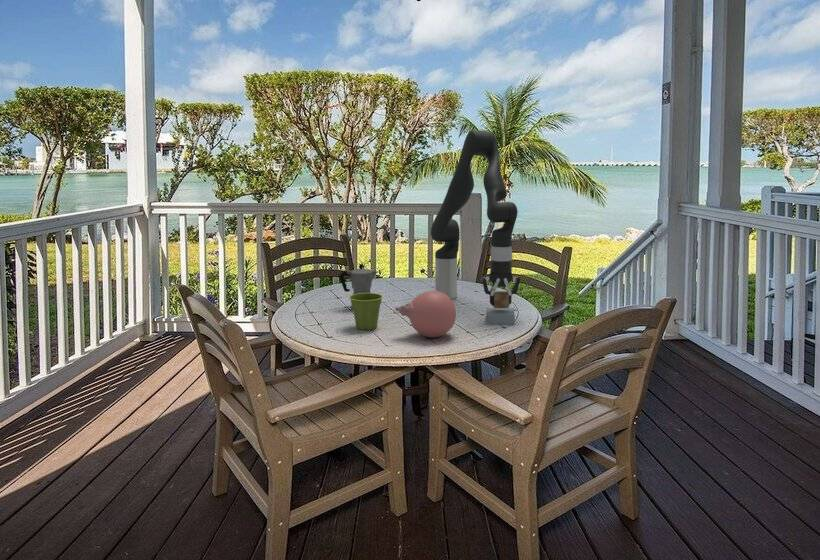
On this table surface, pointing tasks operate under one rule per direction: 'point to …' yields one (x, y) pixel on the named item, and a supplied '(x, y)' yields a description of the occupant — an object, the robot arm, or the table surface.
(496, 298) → the walnut block
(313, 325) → the table surface
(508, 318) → the slate base block
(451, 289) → the robot arm
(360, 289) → the coffeepot
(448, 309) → the balloon
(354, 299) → the plant pot
